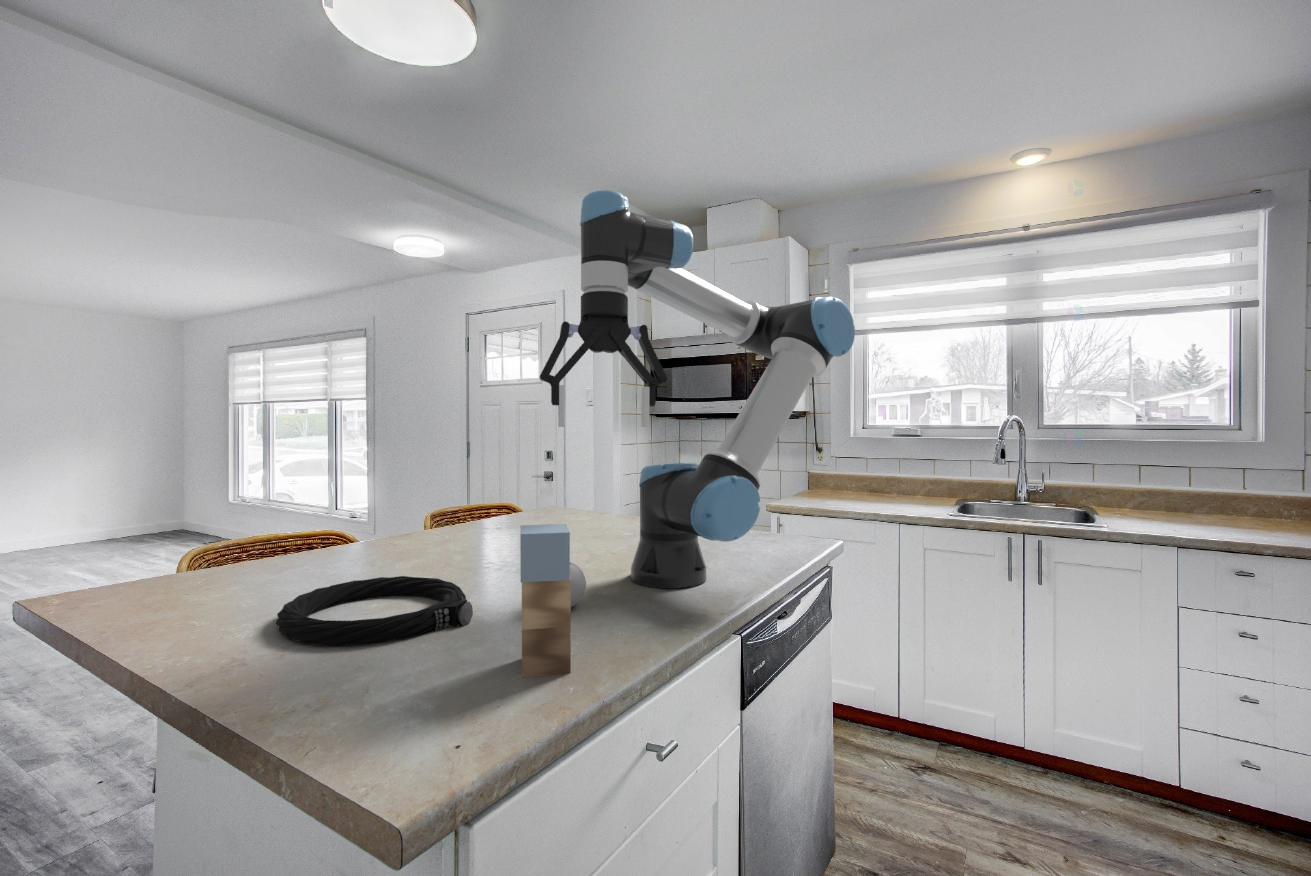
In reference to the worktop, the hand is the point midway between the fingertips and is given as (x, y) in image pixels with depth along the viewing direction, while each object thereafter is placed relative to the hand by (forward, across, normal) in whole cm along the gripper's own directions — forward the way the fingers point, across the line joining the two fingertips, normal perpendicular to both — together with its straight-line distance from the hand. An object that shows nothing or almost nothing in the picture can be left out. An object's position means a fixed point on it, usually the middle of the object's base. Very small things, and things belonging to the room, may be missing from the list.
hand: (603, 427), depth 98 cm
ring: (+31, +35, -7) cm, 47 cm away
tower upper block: (+25, +10, +18) cm, 32 cm away
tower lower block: (+31, +10, +18) cm, 37 cm away
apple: (+31, +6, -6) cm, 32 cm away
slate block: (+19, +10, +18) cm, 28 cm away
